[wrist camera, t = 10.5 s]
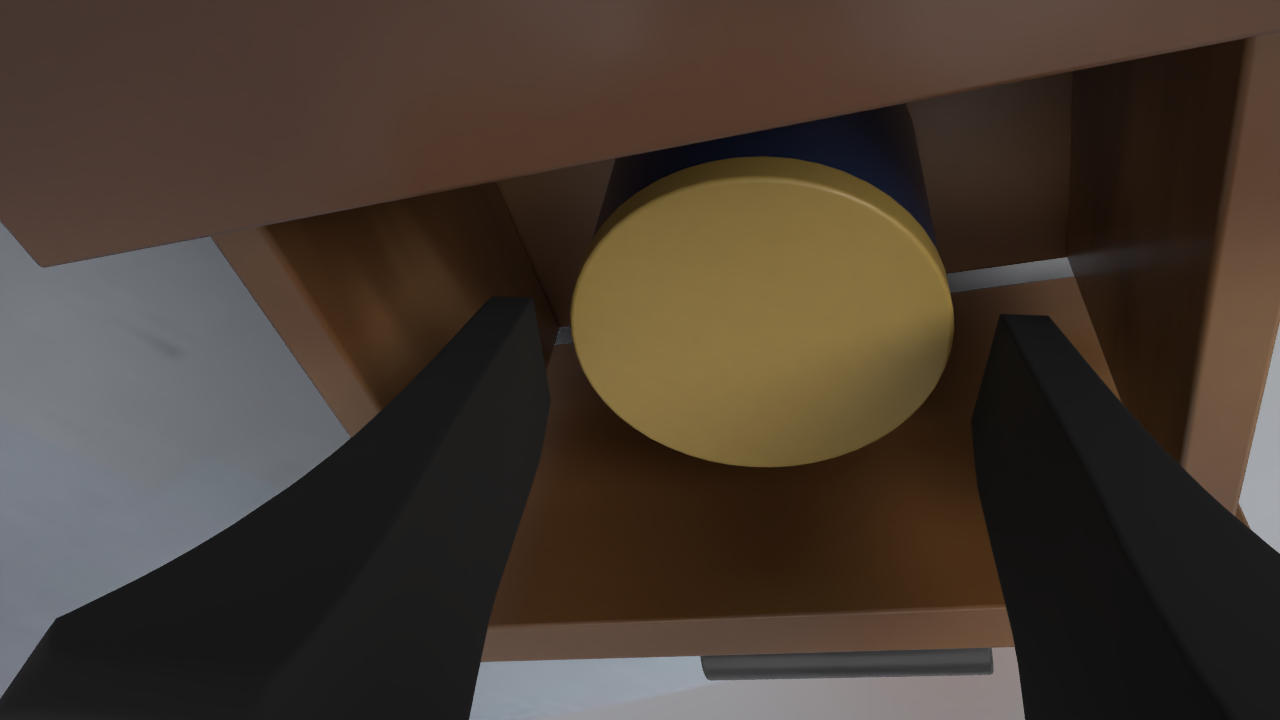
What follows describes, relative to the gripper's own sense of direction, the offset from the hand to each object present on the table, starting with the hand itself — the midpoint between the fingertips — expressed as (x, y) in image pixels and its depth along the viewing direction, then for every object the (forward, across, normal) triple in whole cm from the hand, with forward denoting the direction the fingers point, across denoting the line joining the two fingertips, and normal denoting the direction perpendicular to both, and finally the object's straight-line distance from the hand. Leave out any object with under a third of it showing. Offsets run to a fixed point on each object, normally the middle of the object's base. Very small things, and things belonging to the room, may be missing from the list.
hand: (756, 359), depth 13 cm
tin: (+5, 0, 0) cm, 5 cm away
